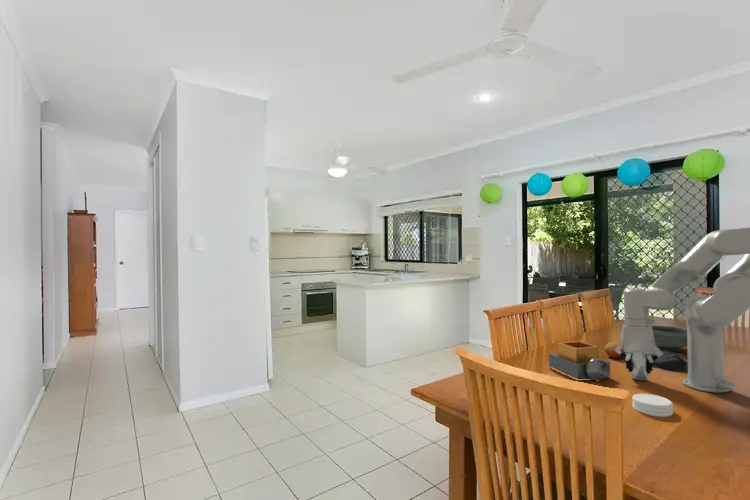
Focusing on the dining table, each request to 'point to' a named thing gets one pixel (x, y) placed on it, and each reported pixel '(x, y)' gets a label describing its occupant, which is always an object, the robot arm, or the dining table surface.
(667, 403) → the coaster
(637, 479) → the dining table surface
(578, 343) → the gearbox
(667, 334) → the bowl
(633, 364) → the spout can
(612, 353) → the fruit
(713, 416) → the dining table surface
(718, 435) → the dining table surface
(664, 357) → the dark slate chunk
